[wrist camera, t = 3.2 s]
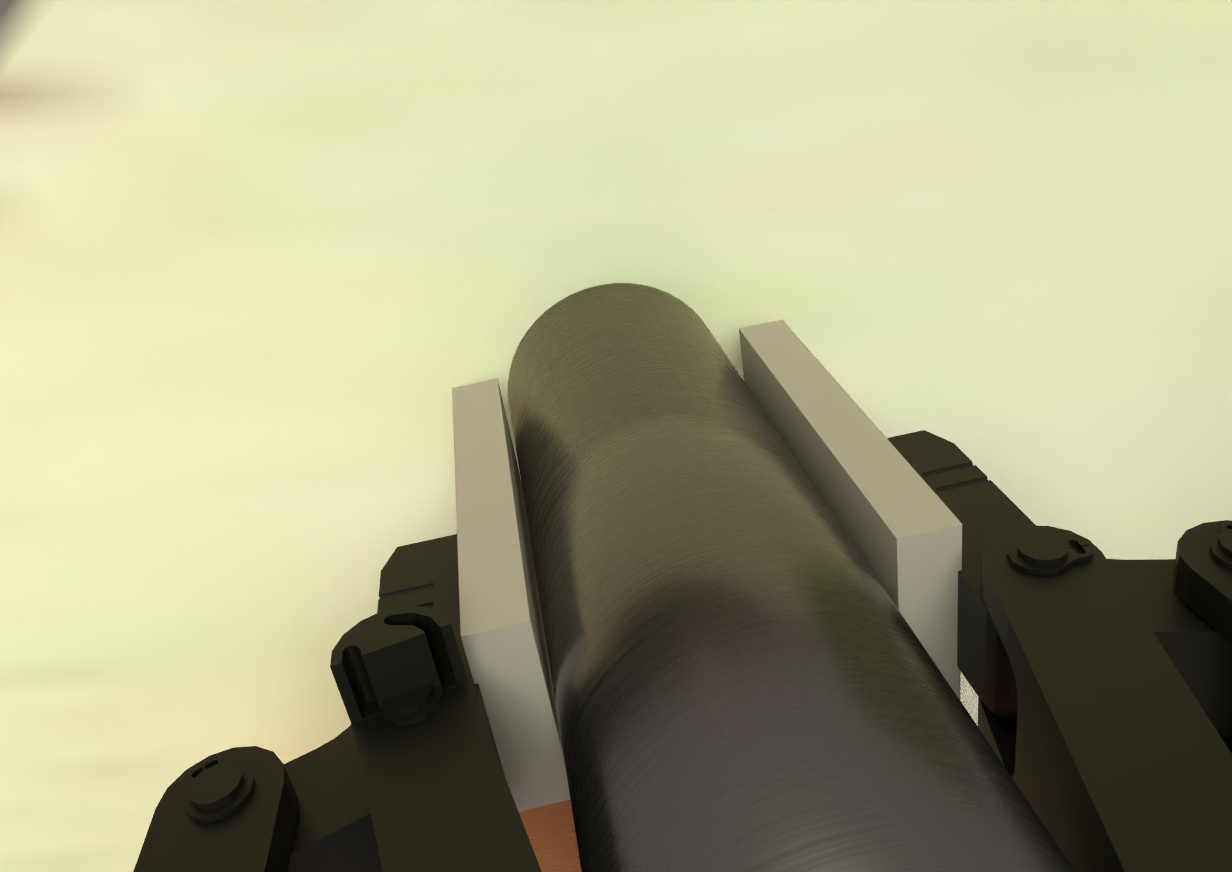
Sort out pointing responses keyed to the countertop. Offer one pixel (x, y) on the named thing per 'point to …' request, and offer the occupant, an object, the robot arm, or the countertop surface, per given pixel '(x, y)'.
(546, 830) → the post with bracket
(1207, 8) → the countertop surface
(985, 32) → the countertop surface
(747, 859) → the dark grey cylinder
